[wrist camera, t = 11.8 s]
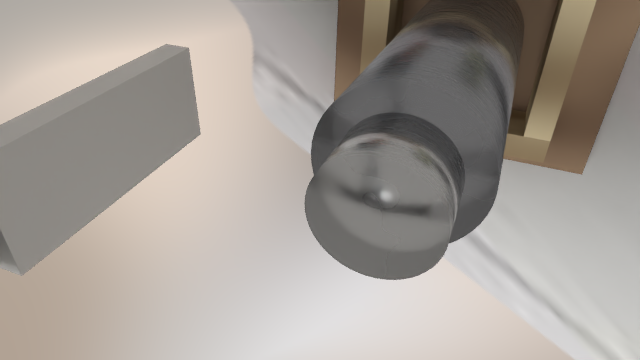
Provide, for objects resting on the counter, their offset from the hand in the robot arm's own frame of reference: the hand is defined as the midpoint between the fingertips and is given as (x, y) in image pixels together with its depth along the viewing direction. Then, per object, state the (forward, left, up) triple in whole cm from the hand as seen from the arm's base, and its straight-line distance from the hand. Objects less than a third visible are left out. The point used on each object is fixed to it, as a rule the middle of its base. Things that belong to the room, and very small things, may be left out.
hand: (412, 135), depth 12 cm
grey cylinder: (0, 0, -11) cm, 11 cm away
